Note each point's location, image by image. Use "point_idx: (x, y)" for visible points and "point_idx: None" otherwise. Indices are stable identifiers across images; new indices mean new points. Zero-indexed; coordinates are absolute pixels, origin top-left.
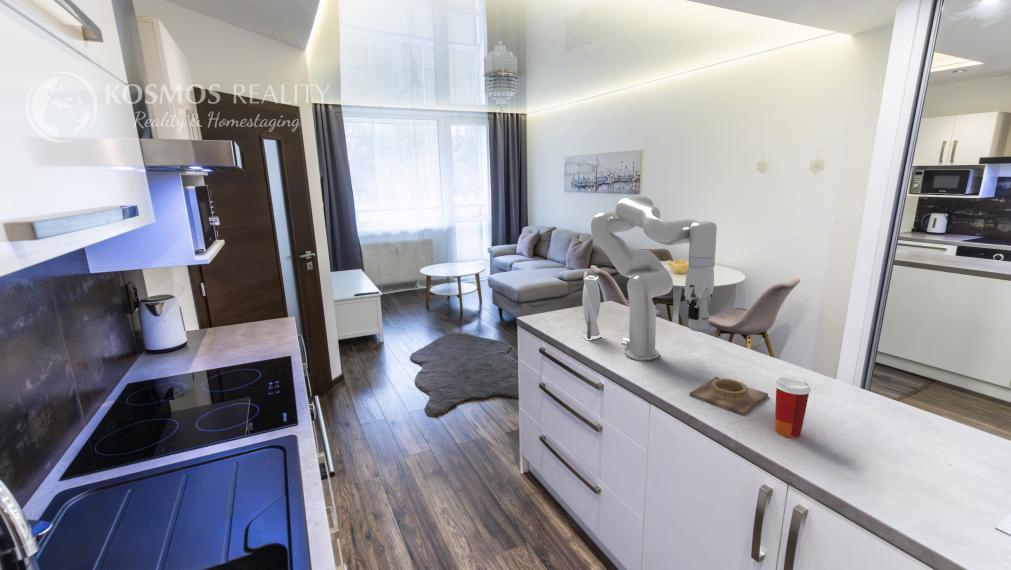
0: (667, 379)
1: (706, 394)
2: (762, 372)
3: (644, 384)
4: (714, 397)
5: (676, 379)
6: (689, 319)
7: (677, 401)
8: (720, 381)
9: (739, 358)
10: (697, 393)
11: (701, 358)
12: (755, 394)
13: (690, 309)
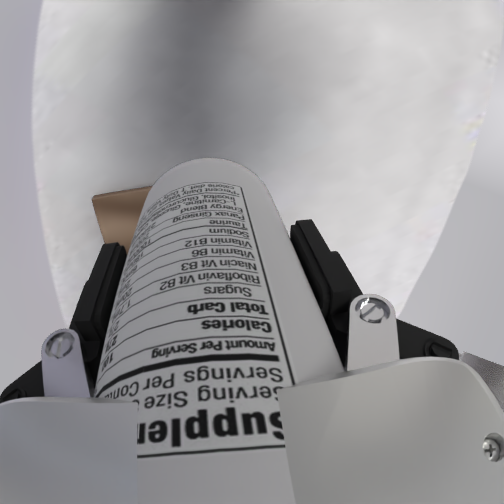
0: (122, 86)
1: (122, 228)
2: (374, 226)
3: (42, 78)
4: (127, 247)
5: (145, 102)
6: (140, 218)
7: (49, 198)
8: None
9: (427, 148)
10: (106, 213)
11: (365, 63)
12: None
13: (72, 329)
